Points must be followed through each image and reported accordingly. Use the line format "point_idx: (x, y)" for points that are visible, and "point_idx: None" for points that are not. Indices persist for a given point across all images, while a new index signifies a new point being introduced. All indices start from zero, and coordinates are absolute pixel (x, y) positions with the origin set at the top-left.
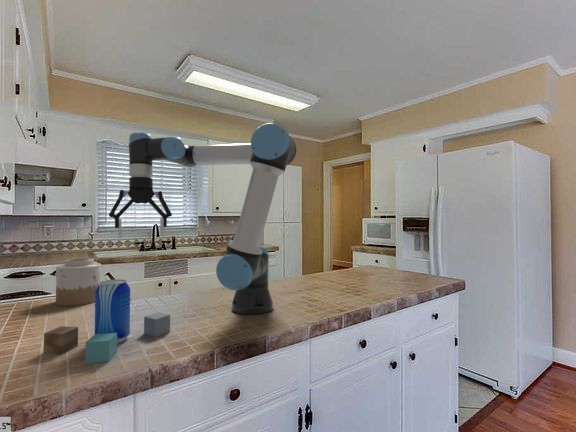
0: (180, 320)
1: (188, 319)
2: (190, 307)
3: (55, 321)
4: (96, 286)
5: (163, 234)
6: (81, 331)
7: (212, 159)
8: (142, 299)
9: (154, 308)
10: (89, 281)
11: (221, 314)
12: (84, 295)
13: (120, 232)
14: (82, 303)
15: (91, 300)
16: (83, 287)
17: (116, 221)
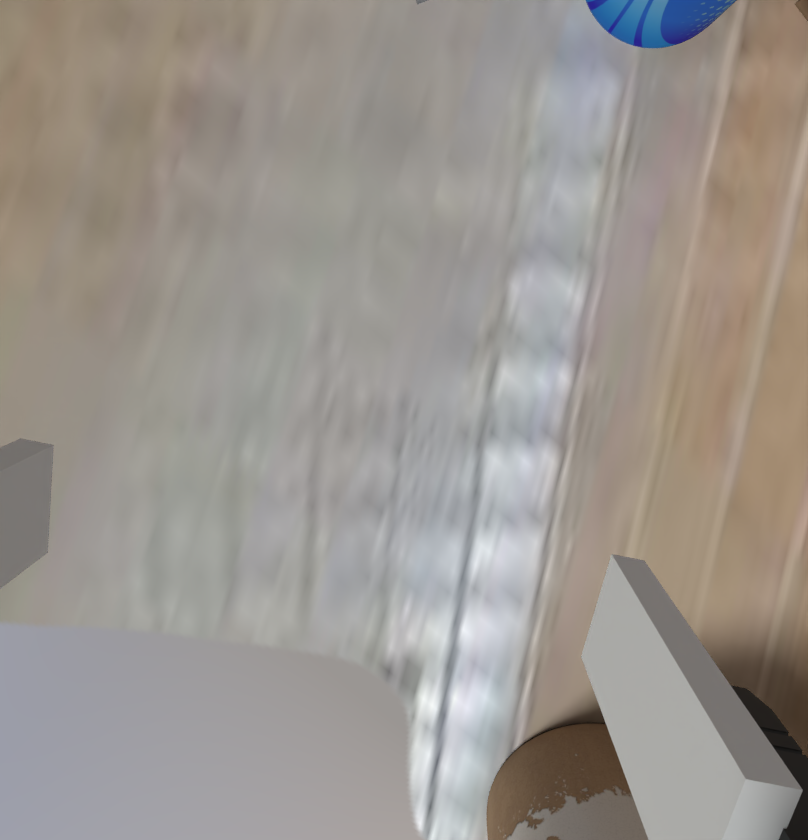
0: (278, 68)
1: (236, 55)
2: (146, 286)
3: (772, 492)
4: (538, 808)
5: (7, 446)
6: (723, 230)
7: None
8: (314, 634)
9: (317, 403)
10: (591, 825)
11: (48, 17)
12: (600, 757)
13: (651, 596)
14: (599, 726)
15: (555, 736)
16: (618, 795)
17: (803, 782)
